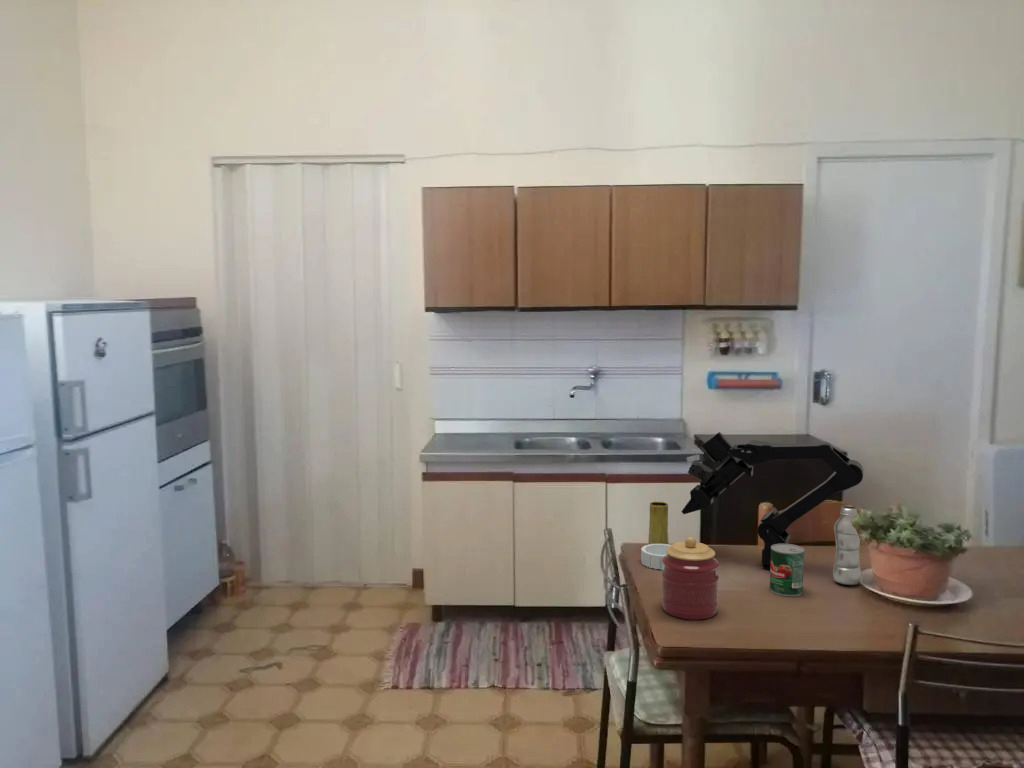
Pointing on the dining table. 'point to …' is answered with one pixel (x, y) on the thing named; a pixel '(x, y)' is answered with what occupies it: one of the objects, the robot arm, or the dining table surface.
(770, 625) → the dining table surface
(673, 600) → the canister
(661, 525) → the vase
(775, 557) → the canned tomato
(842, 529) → the plastic bottle
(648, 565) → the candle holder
